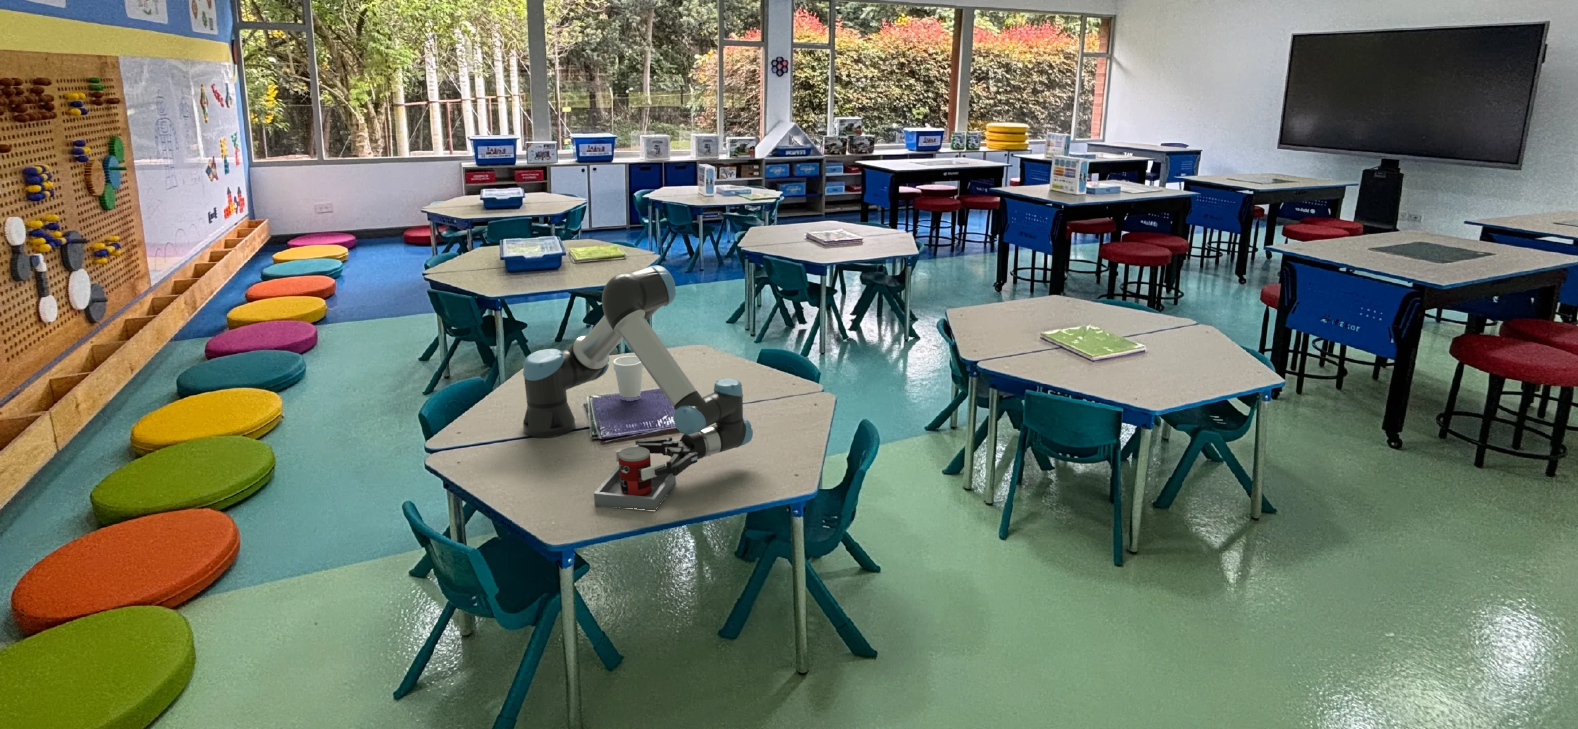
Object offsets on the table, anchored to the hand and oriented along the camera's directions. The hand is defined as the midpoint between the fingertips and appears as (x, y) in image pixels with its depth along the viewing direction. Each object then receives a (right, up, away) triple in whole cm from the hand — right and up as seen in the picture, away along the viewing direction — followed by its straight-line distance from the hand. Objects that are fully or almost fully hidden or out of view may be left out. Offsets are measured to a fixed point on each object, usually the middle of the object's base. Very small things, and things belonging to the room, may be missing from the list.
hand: (628, 465), depth 233 cm
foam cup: (-11, +14, +67) cm, 70 cm away
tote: (+1, -8, +4) cm, 9 cm away
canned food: (+1, -7, +4) cm, 8 cm away
